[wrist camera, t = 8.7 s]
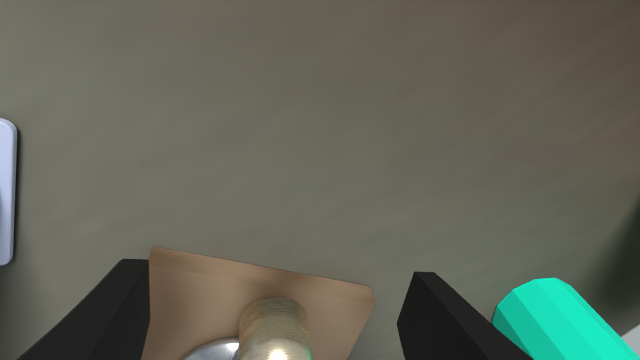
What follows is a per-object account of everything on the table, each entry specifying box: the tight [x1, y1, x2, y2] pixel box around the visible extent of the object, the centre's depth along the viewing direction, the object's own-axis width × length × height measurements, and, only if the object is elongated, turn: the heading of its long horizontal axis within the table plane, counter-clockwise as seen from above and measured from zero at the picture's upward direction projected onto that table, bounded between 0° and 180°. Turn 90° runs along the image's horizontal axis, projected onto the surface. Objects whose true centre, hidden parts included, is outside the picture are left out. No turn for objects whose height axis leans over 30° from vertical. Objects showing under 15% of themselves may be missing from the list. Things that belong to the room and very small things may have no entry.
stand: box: [141, 246, 376, 360], centre depth 26 cm, size 13×13×2 cm
